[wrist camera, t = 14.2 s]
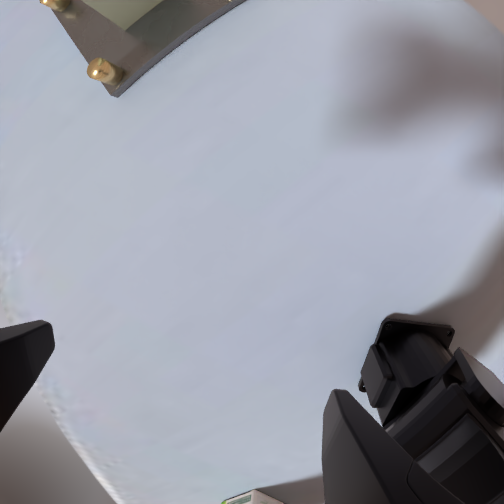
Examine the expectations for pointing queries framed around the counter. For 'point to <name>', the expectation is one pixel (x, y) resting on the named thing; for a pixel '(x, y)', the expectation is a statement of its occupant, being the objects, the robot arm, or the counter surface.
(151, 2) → the sage block
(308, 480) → the counter surface
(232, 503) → the syrup box
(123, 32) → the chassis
